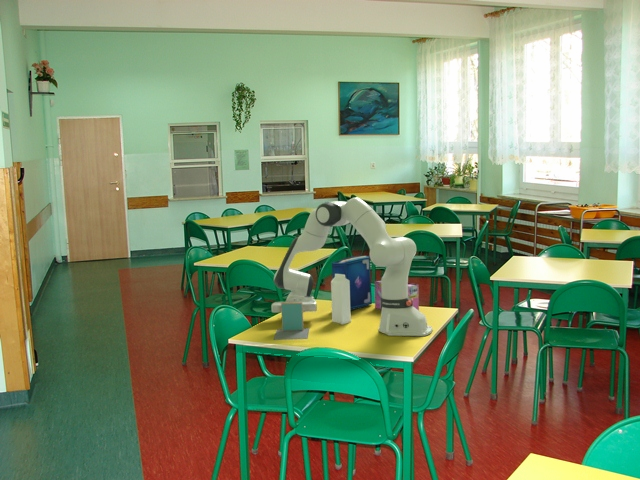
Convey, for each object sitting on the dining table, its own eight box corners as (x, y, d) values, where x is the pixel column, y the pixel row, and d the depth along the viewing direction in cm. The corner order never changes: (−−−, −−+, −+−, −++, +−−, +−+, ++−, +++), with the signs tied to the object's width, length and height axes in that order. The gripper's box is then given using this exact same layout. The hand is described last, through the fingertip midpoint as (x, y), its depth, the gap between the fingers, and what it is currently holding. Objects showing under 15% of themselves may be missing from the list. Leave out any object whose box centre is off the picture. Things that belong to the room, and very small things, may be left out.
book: (341, 313, 309) (340, 261, 306) (331, 311, 314) (329, 260, 312) (372, 305, 324) (371, 255, 321) (362, 303, 329) (361, 254, 326)
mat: (277, 330, 281) (277, 329, 281) (309, 329, 280) (309, 328, 280) (273, 341, 264) (273, 339, 264) (307, 340, 263) (307, 338, 263)
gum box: (372, 307, 318) (371, 280, 317) (384, 305, 323) (383, 278, 322) (408, 315, 300) (407, 286, 298) (419, 312, 305) (419, 284, 303)
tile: (282, 329, 279) (281, 302, 278) (303, 329, 279) (302, 301, 277) (282, 331, 277) (281, 303, 275) (303, 330, 277) (302, 302, 275)
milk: (342, 324, 287) (340, 275, 284) (332, 323, 291) (330, 274, 288) (351, 321, 291) (349, 273, 289) (340, 320, 295) (339, 272, 293)
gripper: (272, 297, 296) (269, 304, 282) (316, 296, 295) (316, 302, 281) (272, 311, 296) (269, 318, 283) (317, 310, 296) (316, 317, 282)
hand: (293, 310), depth 282 cm, fingers closed
